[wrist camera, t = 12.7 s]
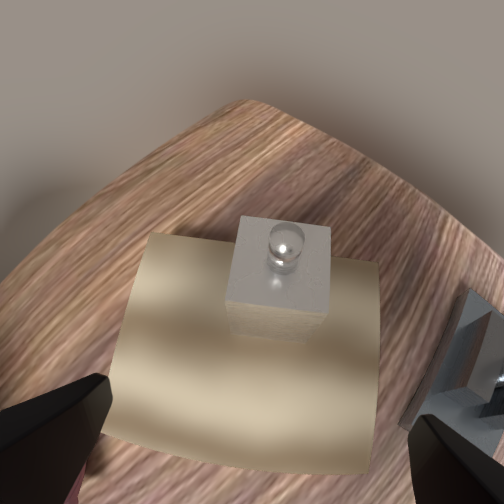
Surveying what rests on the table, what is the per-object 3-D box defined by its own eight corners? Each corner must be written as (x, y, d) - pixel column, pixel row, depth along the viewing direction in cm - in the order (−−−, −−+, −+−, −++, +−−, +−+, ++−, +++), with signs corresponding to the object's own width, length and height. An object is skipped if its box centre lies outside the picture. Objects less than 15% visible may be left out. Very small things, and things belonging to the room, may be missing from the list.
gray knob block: (305, 343, 18) (341, 295, 11) (231, 334, 18) (221, 280, 11) (310, 276, 20) (340, 201, 13) (242, 267, 20) (240, 188, 13)
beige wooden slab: (352, 466, 16) (368, 473, 13) (116, 430, 17) (97, 431, 14) (364, 280, 23) (378, 262, 20) (160, 252, 24) (151, 232, 21)
